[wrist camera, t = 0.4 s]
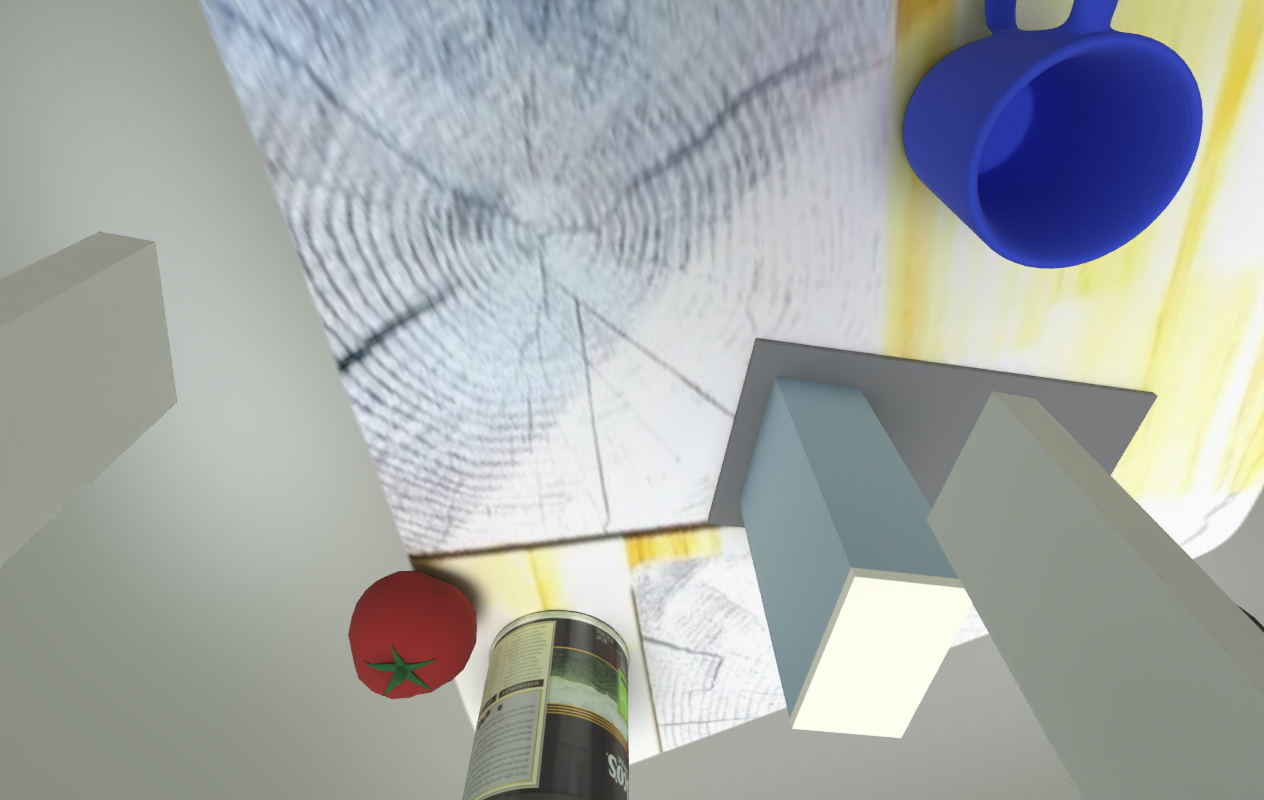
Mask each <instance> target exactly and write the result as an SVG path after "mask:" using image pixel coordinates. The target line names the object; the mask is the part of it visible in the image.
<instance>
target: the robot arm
mask: <svg viewBox="0 0 1264 800" xmlns="http://www.w3.org/2000/svg"><path fill="white" fill-rule="evenodd" d="M176 402H177V398H176V390H175V383H174V376H173V369H172V362H171V354H170V346H169V340H168V332H167V325H166V317H165V310H164V302H163V296H162V288H161V281H160V274H159V266H158V259H157V252H156V245H155V242H154V241H149V240H143V239H137V238H132V237H126V236H121V235H115V234H109V233H104V232H98V233H96V234H94V235H92V236H90V237H88V238H86V239H83V240H81V241H79V242H77V243H75V244H73V245H71V246H69V247H67V248H65V249H62V250H60V251H58V252H56V253H54V254H52V255H50V256H48V257H46V258H44V259H42V260H39V261H37V262H35V263H33V264H31V265H29V266H27V267H25V268H23V269H20V270H18V271H16V272H14V273H12V274H10V275H8V276H6V277H4V278H2V279H0V567H1V566H2V565H3V564H5V563H6V562H7V561H8V560H9V559H10V558H11V557H12V556H13V555H14V554H15V553H16V552H17V551H18V550H20V549H21V548H22V547H23V546H24V545H25V544H26V543H27V542H28V541H29V540H30V539H31V538H32V537H33V536H34V535H36V534H37V533H38V532H39V531H40V530H41V529H42V528H43V527H44V526H45V525H46V524H47V523H48V522H49V521H50V520H52V518H54V516H56V515H57V514H58V513H59V512H60V511H61V510H62V509H63V508H64V507H65V506H67V505H68V504H69V503H70V502H71V501H72V500H73V499H74V498H75V497H76V496H77V495H78V494H79V493H80V492H81V491H83V489H85V488H86V487H87V486H88V485H89V484H90V483H91V482H92V481H93V480H94V479H95V478H96V477H98V476H99V474H101V473H102V472H103V471H104V470H105V469H106V468H107V467H108V466H109V465H110V464H111V463H112V462H114V460H116V459H117V458H118V457H119V456H120V455H121V454H122V453H123V452H124V451H125V450H126V449H127V448H128V447H129V446H131V444H133V443H134V442H135V441H136V440H137V439H138V438H139V437H140V436H141V435H142V434H143V433H144V432H146V431H147V430H148V429H149V428H150V427H151V426H152V425H153V424H154V423H155V422H156V421H157V420H158V419H159V418H161V417H162V416H163V415H164V413H166V412H167V411H168V410H169V409H170V408H171V407H172V406H173V405H174V404H175V403H176ZM926 520H927V522H928V524H929V526H930V527H931V529H932V531H933V533H934V535H935V536H936V538H937V540H938V542H939V544H940V545H941V547H942V549H943V551H944V553H945V554H946V556H947V558H948V560H949V562H950V563H951V565H952V567H953V569H954V571H955V572H956V574H957V576H958V578H959V580H960V581H961V583H962V585H963V587H964V589H965V590H966V592H967V594H968V596H969V598H970V599H971V601H972V603H973V605H974V607H975V608H976V610H977V612H978V614H979V616H980V617H981V619H982V621H983V623H984V625H985V626H986V628H987V630H988V632H989V634H990V636H991V637H992V639H993V641H994V642H995V644H996V646H997V648H998V650H999V652H1000V654H1001V655H1002V657H1003V659H1004V661H1005V663H1006V664H1007V666H1008V668H1009V670H1010V672H1011V673H1012V675H1013V677H1014V679H1015V681H1016V682H1017V684H1018V686H1019V688H1020V690H1021V691H1022V693H1023V695H1024V697H1025V699H1026V700H1027V702H1028V704H1029V706H1030V708H1031V709H1032V711H1033V713H1034V715H1035V717H1036V718H1037V720H1038V722H1039V724H1040V725H1041V727H1042V729H1043V731H1044V733H1045V734H1046V736H1047V738H1048V740H1049V742H1050V744H1051V745H1052V747H1053V749H1054V751H1055V753H1056V754H1057V756H1058V758H1059V760H1060V762H1061V763H1062V765H1063V767H1064V769H1065V771H1066V772H1067V774H1068V776H1069V778H1070V780H1071V782H1072V783H1073V785H1074V787H1075V789H1076V791H1077V792H1078V794H1079V796H1080V798H1081V800H1264V627H1263V626H1262V625H1261V624H1260V623H1259V622H1258V621H1257V620H1256V619H1255V618H1254V617H1253V616H1251V615H1250V614H1249V613H1247V612H1246V611H1245V610H1243V609H1242V608H1241V607H1239V606H1238V605H1236V604H1235V603H1234V602H1233V601H1232V600H1231V599H1230V597H1228V595H1227V594H1226V593H1225V592H1224V591H1223V590H1222V589H1221V588H1220V587H1219V586H1218V585H1217V584H1216V583H1215V582H1214V581H1213V580H1212V579H1211V578H1210V577H1209V576H1208V575H1207V574H1206V573H1205V572H1204V571H1203V570H1202V569H1201V568H1200V567H1199V566H1198V565H1197V564H1196V563H1195V562H1194V561H1193V560H1192V559H1191V558H1190V557H1189V555H1188V554H1187V553H1186V552H1185V551H1184V550H1183V549H1182V548H1181V547H1180V546H1179V545H1178V544H1177V543H1176V542H1175V541H1174V540H1173V539H1172V538H1171V537H1170V536H1169V535H1168V534H1167V533H1166V532H1165V531H1164V530H1163V529H1162V528H1161V527H1160V526H1159V525H1158V524H1157V523H1156V522H1155V521H1154V520H1153V519H1152V518H1151V517H1150V516H1149V515H1148V513H1147V512H1146V511H1145V510H1144V509H1143V508H1142V507H1141V506H1140V505H1139V504H1138V503H1137V502H1136V501H1135V500H1134V499H1133V498H1132V497H1131V496H1130V495H1129V494H1128V493H1127V492H1126V491H1125V490H1124V489H1123V488H1122V487H1121V486H1120V485H1119V484H1118V483H1117V482H1116V481H1115V480H1114V479H1113V478H1112V477H1111V476H1110V475H1109V474H1108V473H1107V472H1106V470H1105V469H1104V468H1103V467H1102V466H1101V465H1100V464H1099V463H1098V462H1097V461H1096V460H1095V459H1094V458H1093V457H1092V456H1091V455H1090V454H1089V453H1088V452H1087V451H1086V450H1085V449H1084V448H1083V447H1082V446H1081V445H1080V444H1079V443H1078V442H1077V441H1076V440H1075V439H1074V438H1073V437H1072V436H1071V435H1070V434H1069V433H1068V432H1067V431H1066V430H1065V428H1064V427H1063V426H1062V425H1061V424H1060V423H1059V422H1058V421H1057V420H1056V419H1055V418H1054V417H1053V416H1052V415H1051V414H1050V413H1049V412H1048V411H1047V410H1046V409H1045V408H1044V407H1043V406H1042V405H1041V404H1040V403H1039V402H1038V401H1037V400H1036V399H1034V398H1028V397H1023V396H1017V395H1012V394H1006V393H1000V392H995V391H992V393H991V395H990V397H989V399H988V401H987V403H986V405H985V406H984V408H983V410H982V412H981V414H980V416H979V418H978V420H977V422H976V424H975V426H974V428H973V430H972V432H971V434H970V436H969V438H968V440H967V442H966V443H965V445H964V447H963V449H962V451H961V453H960V455H959V457H958V459H957V461H956V463H955V465H954V467H953V469H952V471H951V473H950V475H949V477H948V478H947V480H946V482H945V484H944V486H943V488H942V490H941V492H940V494H939V496H938V498H937V500H936V502H935V504H934V506H933V508H932V510H931V512H930V514H929V515H928V517H927V519H926Z"/></svg>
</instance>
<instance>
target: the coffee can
mask: <svg viewBox="0 0 1264 800" xmlns="http://www.w3.org/2000/svg"><path fill="white" fill-rule="evenodd" d="M628 666H629V656H628V651H627V648H626V646H625V644H624V642H623V641H622V639H621V638H620V636H619V635H618V634H617V633H616V632H615V631H614V630H613V629H612V628H610V627H609V626H608V625H606V624H605V623H603V622H601V621H599V620H597V619H595V618H593V617H590V616H588V615H585V614H581V613H576V612H570V611H544V612H538V613H533V614H530V615H527V616H524V617H522V618H519V619H517V620H516V621H514V622H512V623H510V624H509V625H507V626H506V627H505V628H504V629H503V630H502V631H501V632H500V633H499V635H498V636H497V637H496V638H495V640H494V642H493V644H492V646H491V650H490V661H489V667H488V672H487V677H486V682H485V687H484V692H483V697H482V702H481V707H480V712H479V717H478V722H477V727H476V733H475V738H474V743H473V748H472V753H471V758H470V763H469V769H468V773H467V778H466V784H465V789H464V793H463V798H462V800H629V755H628V754H629V750H628Z"/></svg>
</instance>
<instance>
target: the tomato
mask: <svg viewBox="0 0 1264 800" xmlns="http://www.w3.org/2000/svg"><path fill="white" fill-rule="evenodd" d="M476 632H477V623H476V612H475V610H474V608H473V606H472V604H471V602H470V600H469V599H468V598H467V597H466V596H465V595H464V594H463V593H462V592H461V591H460V590H459V589H458V588H457V587H456V586H454V585H451V584H449V583H446V582H444V581H441V580H439V579H436V578H434V577H431V576H429V575H426V574H424V573H421V572H419V571H398V572H396V573H393V574H391V575H389V576H386V577H384V578H382V579H380V580H378V581H376V582H375V583H374V584H373V585H372V586H370V587H369V588H368V589H367V590H366V591H365V592H364V594H363V595H362V596H361V598H360V599H359V601H358V602H357V604H356V607H355V610H354V613H353V616H352V619H351V624H350V629H349V634H348V635H349V640H350V645H351V650H352V655H353V660H354V664H355V668H356V671H357V674H358V678H359V679H360V680H361V681H362V682H363V683H364V684H365V685H366V686H367V687H368V688H370V690H371V691H373V692H375V693H378V694H380V695H383V696H385V697H388V698H390V699H397V698H410V697H413V696H415V695H417V694H424V693H430V692H433V691H434V690H436V689H437V688H439V687H440V686H442V685H443V684H445V683H447V682H449V681H451V680H453V679H454V678H455V677H456V676H457V675H458V674H459V673H460V672H461V671H462V670H463V669H464V668H465V666H466V664H467V662H468V660H469V658H470V655H471V653H472V651H473V648H474V646H475V644H476Z"/></svg>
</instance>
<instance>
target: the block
mask: <svg viewBox="0 0 1264 800" xmlns="http://www.w3.org/2000/svg"><path fill="white" fill-rule="evenodd" d="M739 504H740V508H741V512H742V517H743V521H744V525H745V529H746V534H747V538H748V542H749V547H750V551H751V555H752V559H753V564H754V568H755V572H756V576H757V581H758V585H759V589H760V594H761V598H762V602H763V606H764V611H765V615H766V619H767V624H768V628H769V632H770V636H771V641H772V645H773V649H774V654H775V658H776V662H777V666H778V671H779V675H780V679H781V684H782V688H783V692H784V696H785V701H786V705H787V709H788V713H789V718H790V722H791V726H792V728H793V729H804V730H815V731H826V732H838V733H850V734H861V735H874V736H885V737H897V738H901V737H902V735H903V734H904V732H905V730H906V728H907V726H908V724H909V722H910V720H911V718H912V717H913V715H914V713H915V711H916V709H917V707H918V705H919V704H920V702H921V700H922V698H923V696H924V694H925V693H926V691H927V689H928V687H929V685H930V683H931V681H932V679H933V678H934V676H935V674H936V672H937V670H938V668H939V666H940V665H941V663H942V661H943V659H944V657H945V655H946V653H947V651H948V650H949V648H950V646H951V644H952V642H953V640H954V638H955V637H956V635H957V633H958V631H959V629H960V627H961V625H962V624H963V622H964V620H965V618H966V616H967V614H968V612H969V610H970V609H971V607H972V605H973V603H972V601H971V599H970V598H969V596H968V594H967V592H966V590H965V589H964V587H963V585H962V583H961V581H960V580H959V578H958V576H957V574H956V572H955V571H954V569H953V567H952V565H951V563H950V562H949V560H948V558H947V556H946V554H945V553H944V551H943V549H942V547H941V545H940V544H939V542H938V540H937V538H936V536H935V535H934V533H933V531H932V529H931V527H930V526H929V524H928V522H927V520H926V519H927V517H928V515H929V514H930V512H931V510H932V508H931V507H930V505H929V503H928V502H927V500H926V498H925V497H924V495H923V493H922V492H921V490H920V488H919V487H918V485H917V483H916V482H915V480H914V478H913V477H912V475H911V473H910V472H909V470H908V468H907V467H906V465H905V463H904V462H903V460H902V458H901V456H900V455H899V453H898V451H897V450H896V448H895V446H894V445H893V443H892V441H891V440H890V438H889V436H888V435H887V433H886V431H885V430H884V428H883V426H882V425H881V423H880V421H879V420H878V418H877V416H876V415H875V413H874V411H873V410H872V408H871V406H870V405H869V403H868V401H867V400H866V398H865V396H864V395H863V393H862V391H861V390H860V388H858V387H851V386H843V385H836V384H828V383H821V382H813V381H806V380H798V379H790V378H783V377H775V378H774V381H773V385H772V388H771V392H770V395H769V399H768V402H767V406H766V409H765V413H764V416H763V419H762V423H761V426H760V430H759V433H758V437H757V440H756V444H755V447H754V451H753V454H752V458H751V461H750V465H749V468H748V472H747V475H746V479H745V482H744V486H743V489H742V493H741V496H740V500H739Z"/></svg>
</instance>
